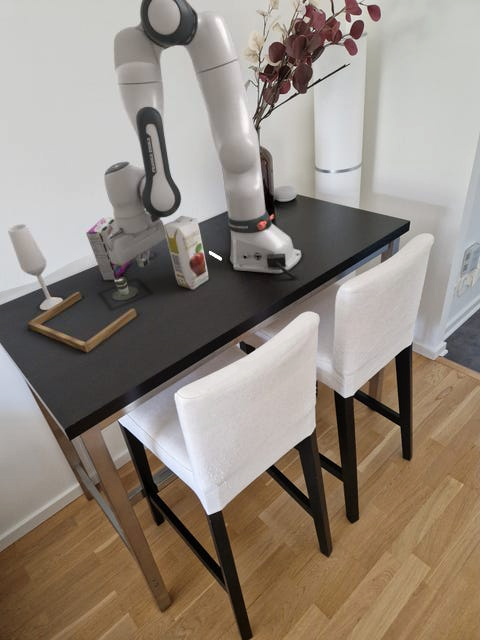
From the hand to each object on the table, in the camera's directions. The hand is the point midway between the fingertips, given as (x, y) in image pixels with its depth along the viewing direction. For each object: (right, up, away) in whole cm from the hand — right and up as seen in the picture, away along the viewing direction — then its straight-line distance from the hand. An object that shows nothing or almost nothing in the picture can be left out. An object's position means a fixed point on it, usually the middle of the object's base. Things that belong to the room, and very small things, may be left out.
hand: (144, 265), depth 130 cm
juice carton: (+15, -6, -4) cm, 17 cm away
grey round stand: (-5, -9, -4) cm, 11 cm away
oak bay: (-13, -17, -15) cm, 26 cm away
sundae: (-2, +5, +15) cm, 16 cm away
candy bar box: (-11, -1, +8) cm, 13 cm away
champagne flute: (-27, -12, -3) cm, 30 cm away
